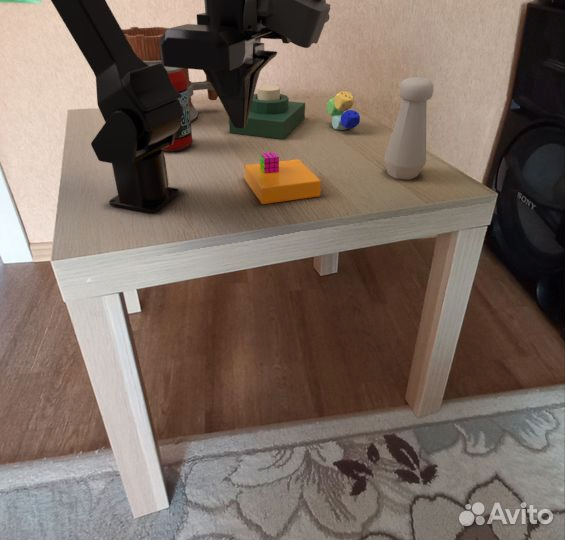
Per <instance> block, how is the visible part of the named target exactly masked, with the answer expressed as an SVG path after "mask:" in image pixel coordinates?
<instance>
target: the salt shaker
mask: <svg viewBox="0 0 565 540" xmlns="http://www.w3.org/2000/svg"><path fill="white" fill-rule="evenodd" d="M398 91H399V93H398V94H399V95H398V96H399V98H401V99H402V101H401V104H400V107H399V111H398V113H397V117H396V120H395V123H394V125H393V129H392V131H391V135H390V138H389V141H388V144H387V147H386V150H385V153H384V157H383V158H384V159H383V160H384V165H385V168H386V173H387V175H389V176H391V177H392V178H394V179H395V180H396V179H397V180H407V181H409V180H412V179H414V178H417V177H418V175H420V173H421V171H422V170H423V168H424V167H425V165H426V163H427V107H428V106H427V101H429V100H431V99H432V97H433V94H434V83H433V82H432V81H431V80H430V79H427V78H424V77H415V76H413V77H406V78H404V79H403V80H402V81H401V82H400V86H399V90H398Z"/></svg>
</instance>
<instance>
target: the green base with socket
mask: <svg viewBox="0 0 565 540" xmlns="http://www.w3.org/2000/svg"><path fill="white" fill-rule="evenodd" d="M289 99H290V98H289V97H288V96H287V95H286V94H282V93H280V100H275V101H264V100H258V98H257V93H254V96H253V100H252V104H251V108H250V113H249V117H248V121H247V125H246V126H245V127H244V128H235V127H234V126H233V124H232V122H231V120H230V118H229V117H228V124H229V126H228V127H229V133H230V134H236V135H246V136H254V137H262V138H270V139H277V140H278V139H279V140H285V138H287V136H288V135H290V133H292V132H293V131H294V130H295V129H296V128H297V127H298V126H299V125H300V124H301V123H302V122H303V121H304V120H305V117H306V102H301V101H292V100H289Z"/></svg>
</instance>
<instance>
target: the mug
mask: <svg viewBox="0 0 565 540" xmlns="http://www.w3.org/2000/svg"><path fill="white" fill-rule="evenodd" d="M168 28H169V27H165V26H164V27H163V26H151V27H139V26H130V27H129V28H121V29H122V31H123V33H124V35H125V36H126V38H127V40H128V42H129V44H130V45H131V47H132V49H133V51H134V52H135V54H136V55H137V56H138V58H140V59H141V60H142V61H143V62H145V63H146V64H147V65H153V64H158V63H161V55H160V47H159V40H160V38H161V37H162V35H163V34H164V33H165V31H166V30H167V29H168ZM161 64H162V63H161ZM181 70H182V72H183V73H184V75H185V77H186V79H187V88H188V98H189V108H190V119H191V122H193V121H194V120H195V119H196V118H197V116H198V115H199V114H198V111H197V109H196V108H195V106H194V104H193V102H192V97H193V96H194V91H202V90H203V91H204V90H206V91H207V99H208V100H209V101H217V100H218V99H219V97H218V95H217V93H216V91H215V89H214V88H213V86H212V84H211V83H210V81H209V79H208V78H207V76H206V75H205V80H204V81H191V80H190V73H189V69H186V68H181Z"/></svg>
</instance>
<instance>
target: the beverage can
mask: <svg viewBox="0 0 565 540" xmlns="http://www.w3.org/2000/svg"><path fill="white" fill-rule="evenodd" d="M153 65H155V64H153ZM148 66H152V65H148ZM165 69H166V70H167V73H168V76H169V78H170V80H171V83H172V85H173V86H174V88H175V89H176V90H177V91H178V92H179V93H180V94H181V96H182V97H181V98H178V100H179V102H180V104H181V107H182V110H183V116H182V121H181V125H180V127H179V129H178V131H177V132H176V134H175V138H174V143H173V144H172V145H170V146H167V147H165V148H163V152H173V151H180V150H183V149H186V148H187V147H188V146H189V145H190V144H191V143H192V142H193V132H192V121H191V119H190V108H189V98H188V88H187V79H186V77H185V75H184V73H183V72H182V70H181V68H175V67H165Z"/></svg>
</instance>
